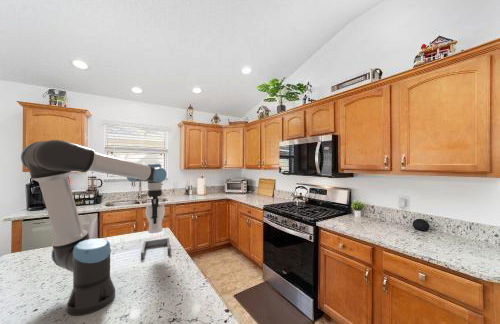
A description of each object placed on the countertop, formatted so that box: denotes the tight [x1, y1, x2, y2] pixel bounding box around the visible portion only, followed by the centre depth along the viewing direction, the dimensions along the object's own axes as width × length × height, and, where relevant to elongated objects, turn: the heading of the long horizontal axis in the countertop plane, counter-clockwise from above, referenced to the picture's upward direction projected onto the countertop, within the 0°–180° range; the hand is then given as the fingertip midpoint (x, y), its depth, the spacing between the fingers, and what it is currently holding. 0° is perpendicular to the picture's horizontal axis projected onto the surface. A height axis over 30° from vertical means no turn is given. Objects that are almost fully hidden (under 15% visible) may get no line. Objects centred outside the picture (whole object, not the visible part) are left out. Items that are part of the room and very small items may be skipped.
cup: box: [144, 204, 166, 234], centre depth 123 cm, size 11×11×15 cm
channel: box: [140, 237, 171, 261], centre depth 129 cm, size 19×15×4 cm
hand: (155, 226), depth 123 cm, fingers closed on cup, 11 cm apart
